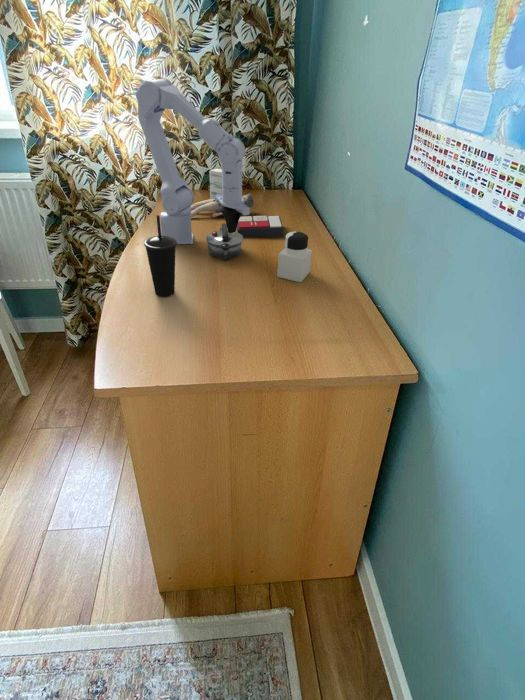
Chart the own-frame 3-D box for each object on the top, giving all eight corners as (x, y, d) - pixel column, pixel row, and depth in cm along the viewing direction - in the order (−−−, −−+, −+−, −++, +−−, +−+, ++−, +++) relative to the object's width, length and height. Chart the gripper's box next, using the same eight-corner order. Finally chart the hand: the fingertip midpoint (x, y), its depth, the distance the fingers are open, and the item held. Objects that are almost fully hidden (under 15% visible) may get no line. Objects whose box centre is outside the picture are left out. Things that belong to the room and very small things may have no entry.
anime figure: (168, 199, 163) (249, 185, 167) (172, 219, 168) (251, 205, 172) (170, 208, 156) (255, 193, 160) (175, 228, 160) (257, 214, 164)
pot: (208, 261, 133) (208, 249, 131) (207, 237, 147) (207, 227, 145) (242, 260, 134) (242, 249, 132) (238, 237, 148) (238, 227, 146)
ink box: (235, 202, 178) (235, 170, 171) (229, 205, 174) (229, 173, 167) (215, 198, 180) (215, 167, 174) (209, 202, 177) (208, 170, 170)
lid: (244, 249, 131) (245, 240, 130) (206, 249, 130) (206, 240, 129) (241, 232, 142) (241, 223, 140) (206, 232, 141) (206, 223, 139)
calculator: (236, 215, 156) (279, 213, 157) (236, 227, 159) (279, 226, 159) (237, 227, 147) (283, 225, 148) (237, 239, 150) (283, 238, 150)
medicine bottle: (309, 273, 129) (314, 232, 122) (300, 283, 124) (305, 241, 117) (286, 267, 132) (289, 227, 125) (276, 277, 126) (279, 235, 119)
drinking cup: (154, 302, 112) (146, 223, 100) (146, 288, 117) (137, 212, 106) (184, 296, 115) (179, 219, 103) (174, 283, 120) (168, 208, 109)
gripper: (258, 190, 127) (257, 236, 135) (228, 178, 136) (228, 222, 144) (238, 194, 123) (237, 241, 131) (208, 181, 132) (210, 226, 140)
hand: (231, 232), depth 137 cm, fingers closed
